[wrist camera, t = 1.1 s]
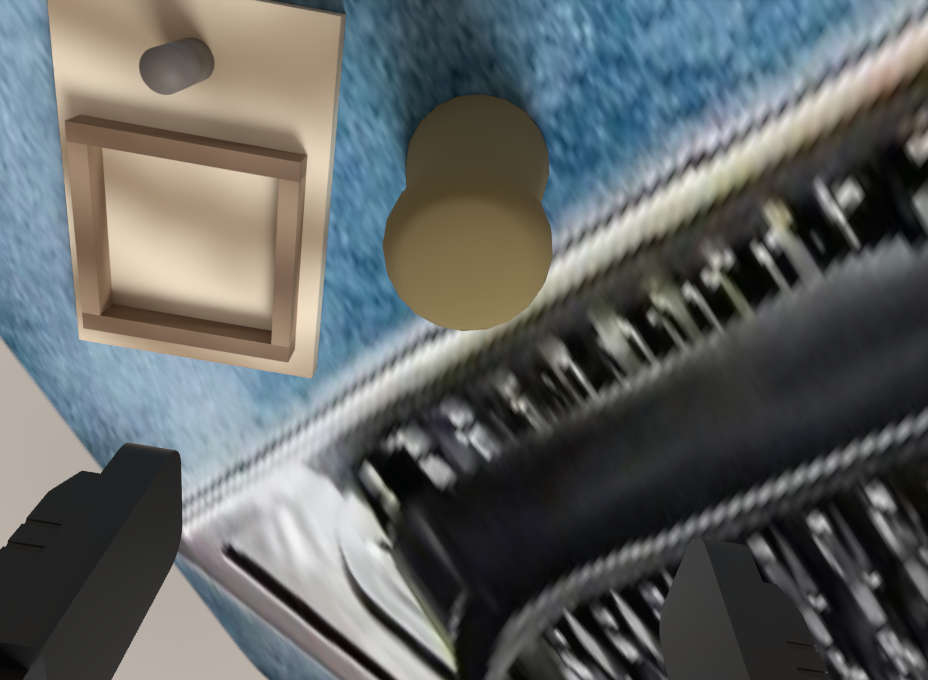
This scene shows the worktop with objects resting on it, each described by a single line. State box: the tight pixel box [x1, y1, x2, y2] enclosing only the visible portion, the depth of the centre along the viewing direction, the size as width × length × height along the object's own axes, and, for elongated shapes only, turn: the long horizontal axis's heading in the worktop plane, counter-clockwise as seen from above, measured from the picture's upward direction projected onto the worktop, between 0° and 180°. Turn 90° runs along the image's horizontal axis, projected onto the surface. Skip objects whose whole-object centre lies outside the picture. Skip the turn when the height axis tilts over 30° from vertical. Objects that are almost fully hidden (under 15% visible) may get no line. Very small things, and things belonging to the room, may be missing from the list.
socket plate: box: [47, 0, 346, 378], centre depth 30 cm, size 16×11×4 cm
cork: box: [383, 94, 553, 331], centre depth 26 cm, size 6×6×11 cm
